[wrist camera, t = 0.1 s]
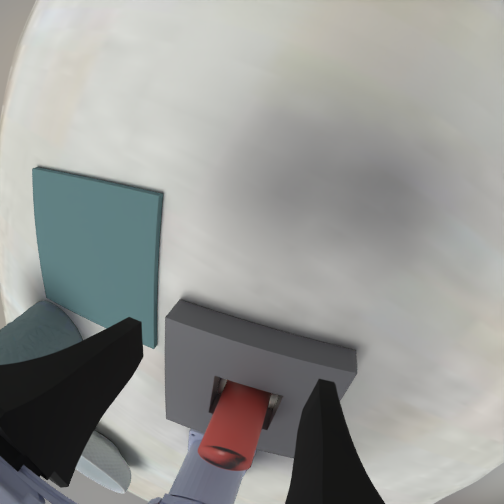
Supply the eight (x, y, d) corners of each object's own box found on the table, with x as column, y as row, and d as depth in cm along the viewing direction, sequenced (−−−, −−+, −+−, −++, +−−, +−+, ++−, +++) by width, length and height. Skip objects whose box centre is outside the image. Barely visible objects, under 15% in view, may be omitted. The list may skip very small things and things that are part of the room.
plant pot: (94, 332, 28) (23, 408, 17) (87, 377, 33) (35, 440, 22) (31, 279, 28) (-43, 334, 17) (32, 331, 33) (-23, 382, 22)
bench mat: (156, 344, 26) (153, 349, 26) (50, 295, 28) (46, 297, 27) (163, 193, 20) (158, 195, 20) (37, 167, 22) (32, 168, 21)
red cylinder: (266, 403, 26) (245, 475, 19) (225, 391, 27) (196, 459, 19) (277, 377, 24) (256, 456, 17) (231, 363, 25) (199, 438, 18)
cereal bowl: (51, 396, 40) (29, 421, 34) (126, 433, 37) (105, 467, 31) (83, 445, 47) (68, 467, 41) (150, 476, 44) (136, 503, 38)
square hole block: (301, 440, 28) (298, 461, 25) (175, 401, 29) (165, 420, 27) (356, 350, 21) (357, 376, 19) (179, 299, 23) (163, 319, 21)
